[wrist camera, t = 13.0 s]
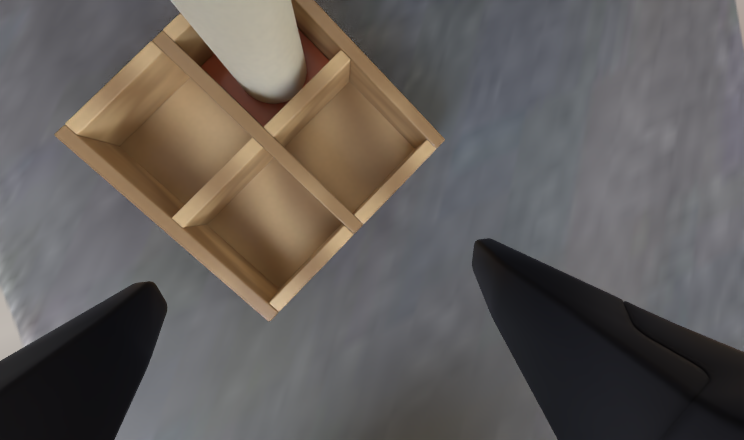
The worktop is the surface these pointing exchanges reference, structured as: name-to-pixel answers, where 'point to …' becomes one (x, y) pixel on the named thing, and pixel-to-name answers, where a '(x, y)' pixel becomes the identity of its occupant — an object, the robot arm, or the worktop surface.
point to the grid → (253, 154)
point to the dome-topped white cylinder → (252, 43)
